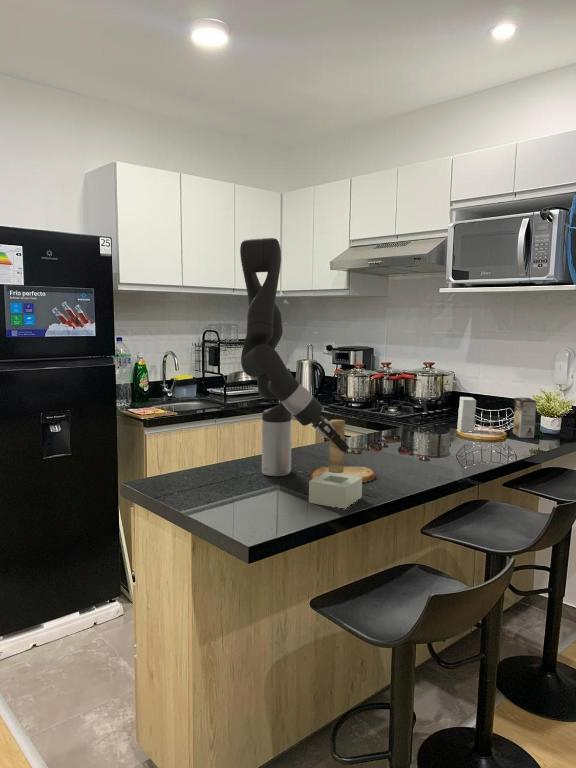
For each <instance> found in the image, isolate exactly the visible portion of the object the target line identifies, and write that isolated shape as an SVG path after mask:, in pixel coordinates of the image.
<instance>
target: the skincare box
mask: <svg viewBox="0 0 576 768" xmlns="http://www.w3.org/2000/svg"><path fill="white" fill-rule="evenodd" d="M476 409H477V400H476V399H475V398H473V397H472V396H470V397H469V396H459V407H458V413H457V415H458V416H457V417H458V418H457V424H456V425H457V429H458V431H459V432H461V433H469V432H468V431H474V432H475V419H476V411H477V410H476Z"/></svg>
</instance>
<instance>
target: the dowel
mask: <svg viewBox="0 0 576 768" xmlns="http://www.w3.org/2000/svg"><path fill="white" fill-rule="evenodd" d="M329 423H330V424H331V425H332V426H333V427H334V428H335V431H336V432H337V433H338V434H339V435H340V438H341V439H342V440H343V441H344V442H345V434H346V430H345V429H346V428H345V427H346V421H345V419H330V420H329ZM335 436H336V435H335V434H334V435H333V436H332V439H333V438H334V437H335ZM328 451H329V454H328V467H329V472H331V473H342V472H343V469H344V467H345V465H344V463H345V452H342V451H341V450H340V449H339V448H338V447H337V446H336V445H335V444H334V443H332V441H331V440H330V439H329V450H328Z"/></svg>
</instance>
